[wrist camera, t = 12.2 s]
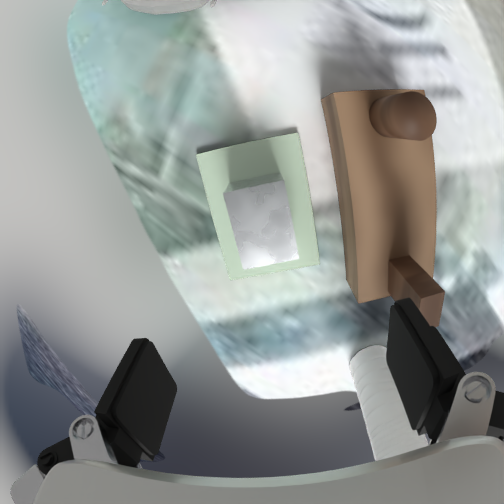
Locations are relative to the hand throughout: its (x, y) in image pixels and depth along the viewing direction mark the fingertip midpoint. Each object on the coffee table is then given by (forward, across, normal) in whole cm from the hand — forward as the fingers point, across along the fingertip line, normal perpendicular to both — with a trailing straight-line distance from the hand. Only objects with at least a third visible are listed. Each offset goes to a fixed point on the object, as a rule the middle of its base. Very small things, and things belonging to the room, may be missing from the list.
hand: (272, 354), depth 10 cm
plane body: (+20, -12, 0) cm, 24 cm away
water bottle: (+21, -11, +24) cm, 33 cm away
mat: (+20, +1, 0) cm, 20 cm away
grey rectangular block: (+20, +1, 0) cm, 20 cm away
